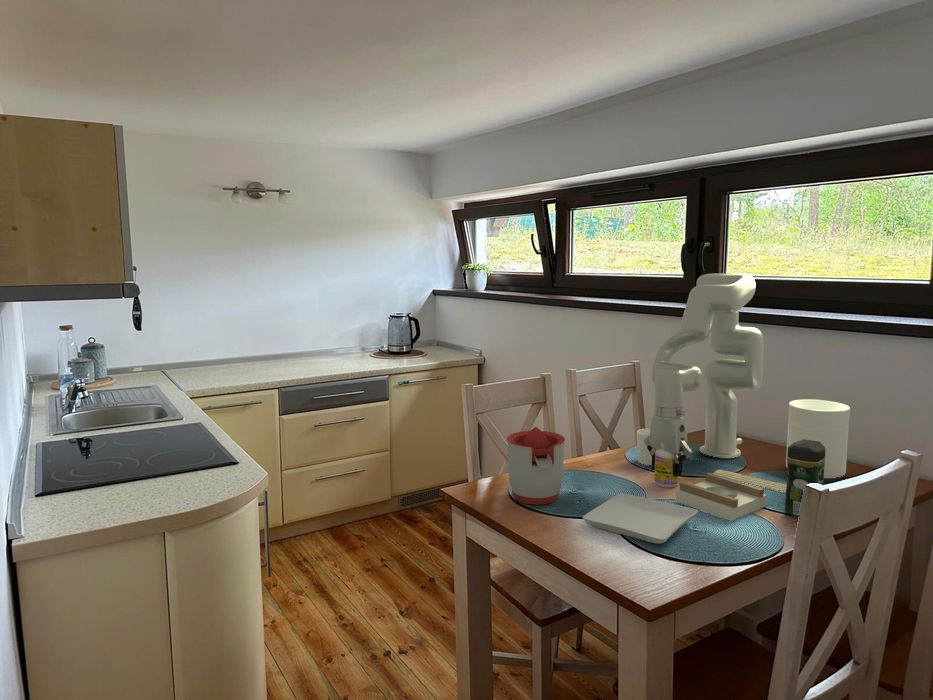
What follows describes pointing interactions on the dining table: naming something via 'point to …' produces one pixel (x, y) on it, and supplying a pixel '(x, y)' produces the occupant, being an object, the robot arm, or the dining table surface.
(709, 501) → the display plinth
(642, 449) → the white cup
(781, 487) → the wooden plank
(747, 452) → the dining table surface
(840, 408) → the canister
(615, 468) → the dining table surface
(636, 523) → the salad plate
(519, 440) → the citrus juicer
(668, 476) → the supplement bottle
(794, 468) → the coffee jar
